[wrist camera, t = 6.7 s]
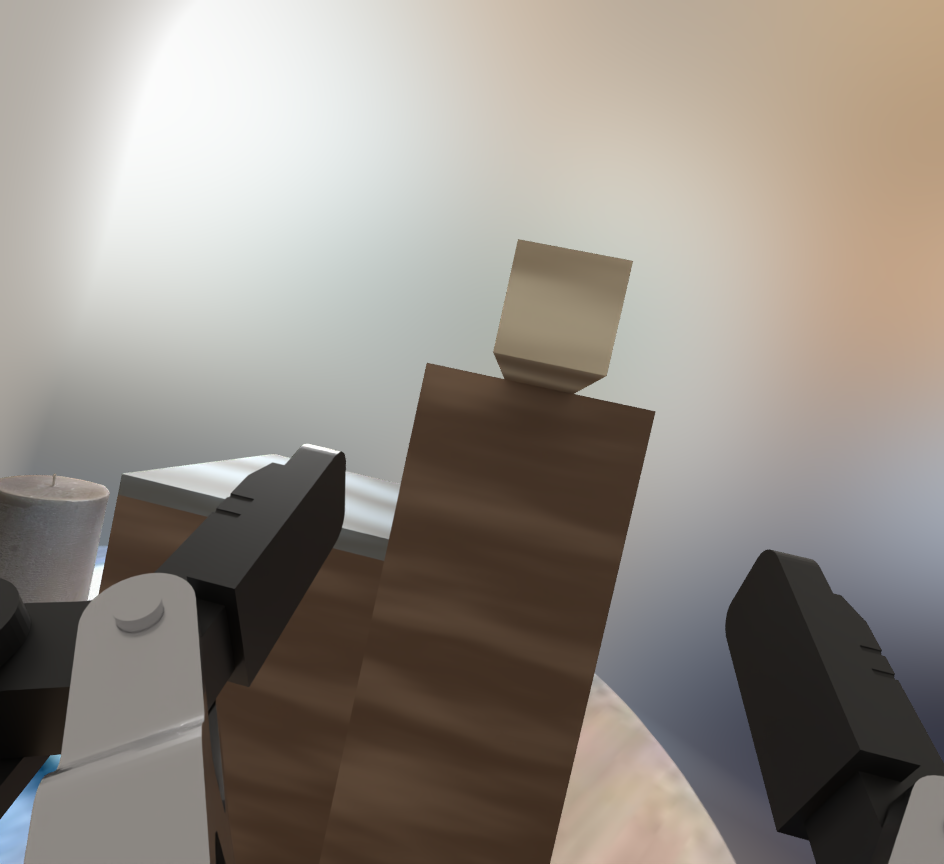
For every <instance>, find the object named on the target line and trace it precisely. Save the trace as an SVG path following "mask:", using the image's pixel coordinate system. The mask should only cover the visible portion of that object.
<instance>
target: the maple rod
mask: <svg viewBox="0 0 944 864" xmlns="http://www.w3.org/2000/svg"><path fill="white" fill-rule="evenodd" d="M632 263H633V261H630V260H625V259H620V258H614V257H609V256H604V255H598V254H593V253H588V252H583V251H578V250H572V249H567V248H562V247H556V246H551V245H546V244H540V243H535V242H529V241H525V240H519V239H518V242H517V247H516V251H515V256H514V261H513V265H512V270H511V274H510V279H509V284H508V287H507V292H506V297H505V301H504V306H503V310H502V315H501V319H500V324H499V329H498V333H497V338H496V343H495V347H494V351H493V353H494V355H495V357H496V360H497V362H498V365H499V367H500V369H501V372H502V374H503V376H504V379H505V380H510V381H515V382H519V383H524V384H529V385H533V386H538V387H543V388H547V389H552V390H557V391H562V392H566V393H571V394H574V393H576V392H578V391H580V390H582V389H583V388H585V387H587V386H589V385H591V384H593V383H594V382H596V381H598V380H600V379H602V378H604V377H605V376H607V372H608V368H609V363H610V359H611V355H612V350H613V346H614V342H615V337H616V333H617V329H618V324H619V320H620V315H621V311H622V307H623V302H624V298H625V294H626V289H627V285H628V281H629V276H630V272H631V267H632Z"/></svg>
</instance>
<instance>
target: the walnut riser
mask: <svg viewBox="0 0 944 864" xmlns="http://www.w3.org/2000/svg"><path fill="white" fill-rule="evenodd" d="M654 415H655V411H650V410H646V409H641V408H637V407H632V406H627V405H622V404H618V403H613V402H608V401H604V400H599V399H594V398H590V397H585V396H580V395H576V394H571V393H566V392H562V391H557V390H552V389H547V388H543V387H538V386H533V385H529V384H524V383H519V382H515V381H510V380H505V379H501V378H496V377H491V376H486V375H482V374H477V373H472V372H468V371H463V370H458V369H454V368H449V367H444V366H440V365H435V364H430V363H427V364H426V369H425V374H424V378H423V383H422V388H421V392H420V397H419V402H418V406H417V411H416V415H415V420H414V425H413V429H412V434H411V439H410V443H409V448H408V453H407V457H406V462H405V467H404V472H403V476H402V481H401V484H398V483H394V482H390V481H386V480H381V479H377V478H373V477H369V476H364V475H360V474H356V473H351V472H347V471H346V480H345V516H344V522H343V526H342V529H341V532H340V535H339V537H338V539H337V541H336V543H335V545H334V547H333V548H332V550H331V552H330V553H329V555H328V557H327V558H326V560H325V562H324V563H323V565H322V567H321V568H320V570H319V572H318V573H317V575H316V577H315V578H314V580H313V582H312V583H311V585H310V587H309V588H308V590H307V592H306V593H305V595H304V597H303V598H302V600H301V602H300V603H299V605H298V607H297V608H296V610H295V612H294V613H293V615H292V617H291V618H290V620H289V622H288V623H287V625H286V627H285V628H284V630H283V632H282V633H281V635H280V637H279V638H278V640H277V642H276V643H275V645H274V647H273V648H272V650H271V652H270V653H269V655H268V657H267V658H266V660H265V662H264V663H263V665H262V667H261V668H260V670H259V672H258V673H257V675H256V677H255V678H254V680H253V682H252V683H251V685H250V687H246V686H243V685H239V684H235V683H232V682H228V681H227V682H226V684H225V685H224V687H223V689H222V690H221V692H220V693H219V695H218V696H217V703H218V710H219V720H220V730H221V741H222V751H223V761H224V772H225V782H226V792H227V803H228V813H229V822H230V830H231V838H232V844H233V851H234V857H235V864H550V861H551V856H552V852H553V848H554V844H555V839H556V835H557V831H558V826H559V822H560V818H561V814H562V809H563V805H564V801H565V796H566V792H567V788H568V784H569V779H570V775H571V771H572V767H573V762H574V758H575V754H576V749H577V745H578V741H579V737H580V732H581V728H582V724H583V719H584V715H585V711H586V707H587V702H588V698H589V694H590V689H591V685H592V681H593V677H594V672H595V668H596V664H597V659H598V655H599V651H600V647H601V642H602V638H603V633H604V629H605V625H606V621H607V616H608V612H609V608H610V604H611V599H612V595H613V591H614V586H615V582H616V578H617V574H618V570H619V565H620V561H621V557H622V552H623V548H624V544H625V540H626V535H627V531H628V527H629V522H630V518H631V514H632V510H633V505H634V501H635V497H636V492H637V488H638V484H639V480H640V475H641V471H642V467H643V463H644V458H645V454H646V450H647V445H648V441H649V437H650V433H651V428H652V424H653V420H654ZM289 459H290V458H288V457H284V456H279V455H275V454H270V455H263V456H255V457H247V458H239V459H231V460H223V461H216V462H208V463H200V464H193V465H185V466H178V467H170V468H162V469H155V470H147V471H140V472H131V473H124V474H122V476H121V482H120V487H119V492H118V497H117V503H116V507H115V513H114V518H113V523H112V528H111V533H110V538H109V544H108V549H107V554H106V559H105V564H104V569H103V575H102V580H101V585H100V590H99V594H100V593H102V592H103V591H104V590H106V589H107V588H109V587H111V586H112V585H114V584H116V583H118V582H120V581H122V580H125V579H128V578H130V577H134V576H138V575H142V574H148V573H154V572H155V571H156V570H157V569H158V568H159V567H160V566H161V565H162V564H163V563H164V562H165V561H166V560H167V559H168V558H169V557H170V556H171V555H172V554H173V553H174V552H175V551H176V550H177V549H178V548H179V546H180V545H181V544H182V543H183V542H184V541H185V540H186V539H187V538H188V537H189V536H190V535H191V534H192V533H193V532H194V531H195V530H196V529H197V528H198V527H199V526H200V525H201V524H202V523H203V521H204V520H205V519H206V518H207V517H208V516H209V515H210V514H211V513H212V512H214V513H215V511H216V508H217V507H218V506H219V505H220V504H221V503H222V502H223V501H224V500H225V499H226V498H227V497H230V495H231V492H232V491H233V490H234V489H235V488H236V487H237V486H238V485H239V484H240V483H241V482H242V481H243V480H244V479H245V478H246V477H247V476H248V475H249V474H251V473H253V472H255V471H257V470H259V469H261V468H263V467H265V466H267V465H269V464H270V463H272V462H273V463H278V464H282V465H285V464H286V463H287V462H288V461H289Z"/></svg>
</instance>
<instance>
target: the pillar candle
mask: <svg viewBox="0 0 944 864" xmlns="http://www.w3.org/2000/svg"><path fill="white" fill-rule="evenodd" d="M109 495H110V493H109V490H107V489H106V487H105V486H103V485H100V484H96V483H92V482H88V481H85V480H80V479H75V478H67V477H61V476H56V474H53V476H47V475H24V476H12V477H5V478H1V479H0V578H1V579H5V580H7V581H9V582H11V583H12V584H13V585H14V586H15V587H16V588H17V590H18V592H19V595H20V597H21V599H22V601H23V603H42V602H76V601H87V599H88V595H89V590H90V585H91V580H92V576H93V571H94V566H95V561H96V555H97V550H98V545H99V540H100V535H101V530H102V525H103V520H104V515H105V510H106V505H107V502H108V498H109Z"/></svg>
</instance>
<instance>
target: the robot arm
mask: <svg viewBox="0 0 944 864" xmlns="http://www.w3.org/2000/svg"><path fill="white" fill-rule="evenodd" d="M345 480H346V459H345V454H344V453H343V452H341V451H337V450H333V449H328V448H324V447H319V446H315V445H311V444H304V445H302V446H301V447H300V448H299V449H298V450H297V452H296V453H295V454H294V455H293V456H292V457H291V458H290V459H289V461H288V462H287V463H286V464H285V465H282V464H278V463H273V462H272V463H270V464H269V465H267V466H265V467H263V468H261V469H259V470H257V471H255V472H253V473H251V474H249V475H248V476H247V477H246V478H245V479H244V480H243V481H242V482H241V483H240V484H239V485H238V486H237V487H236V488H235V489H234V490H233V491H232V492H231V495H230V497H227V498H226V499H225V500H224V501H223V502H222V503H221V504H220V505H219V506H218V507H217V508H216V511H215V513H214V512H212V513H211V514H210V515H209V516H208V517H207V518H206V519H205V520H204V521H203V523H202V524H201V525H200V526H199V527H198V528H197V529H196V530H195V531H194V532H193V533H192V534H191V535H190V536H189V537H188V538H187V539H186V540H185V541H184V542H183V543H182V544H181V545H180V546H179V548H178V549H177V550H176V551H175V552H174V553H173V554H172V555H171V556H170V557H169V558H168V559H167V560H166V561H165V562H164V563H163V564H162V565H161V566H160V567H159V568H158V569H157V570H156V571H155V572H154V573H148V574H142V575H138V576H134V577H130V578H128V579H125V580H122V581H120V582H118V583H116V584H114V585H112V586H111V587H109V588H107V589H106V590H104V591H103V592H102V593H100V594H99V595H98V596H97V597H95V598H94V599H93V600H91V601H76V602H42V603H23V601H22V599H21V597H20V595H19V592H18V590H17V588H16V587H15V586H14V585H13V584H12V583H11V582H9V581H7V580H5V579H1V578H0V819H1V818H2V816H3V815H4V814H5V813H6V811H7V810H8V809H9V807H10V806H11V805H12V804H13V802H14V801H15V800H16V798H17V797H18V796H19V795H20V793H21V792H22V791H23V790H24V788H25V787H26V786H27V784H28V783H29V782H30V781H31V779H32V778H33V777H34V775H35V774H36V773H37V772H38V770H39V769H40V768H41V767H42V765H43V764H44V763H45V761H46V760H47V759H48V758H49V756H50V755H58V754H61V758H60V762H59V765H58V768H57V770H56V771H54V772H51V773H48V774H47V775H45V776H44V778H43V779H42V780H41V782H40V784H39V787H38V790H37V792H36V796H35V800H34V804H33V809H32V815H31V821H30V827H29V834H28V840H27V846H26V852H25V859H24V864H235V857H234V851H233V844H232V838H231V830H230V822H229V813H228V803H227V792H226V782H225V772H224V761H223V751H222V741H221V730H220V720H219V710H218V703H217V696H218V695H219V693H220V692H221V690H222V689H223V687H224V685H225V684H226V682H227V681H228V682H232V683H235V684H239V685H243V686H246V687H250V685H251V683H252V682H253V680H254V678H255V677H256V675H257V673H258V672H259V670H260V668H261V667H262V665H263V663H264V662H265V660H266V658H267V657H268V655H269V653H270V652H271V650H272V648H273V647H274V645H275V643H276V642H277V640H278V638H279V637H280V635H281V633H282V632H283V630H284V628H285V627H286V625H287V623H288V622H289V620H290V618H291V617H292V615H293V613H294V612H295V610H296V608H297V607H298V605H299V603H300V602H301V600H302V598H303V597H304V595H305V593H306V592H307V590H308V588H309V587H310V585H311V583H312V582H313V580H314V578H315V577H316V575H317V573H318V572H319V570H320V568H321V567H322V565H323V563H324V562H325V560H326V558H327V557H328V555H329V553H330V552H331V550H332V548H333V547H334V545H335V543H336V541H337V539H338V537H339V535H340V532H341V529H342V526H343V522H344V516H345ZM725 627H726V628H725V630H726V638H727V642H728V646H729V650H730V654H731V657H732V661H733V665H734V669H735V673H736V677H737V681H738V684H739V688H740V692H741V696H742V700H743V704H744V707H745V711H746V715H747V719H748V723H749V726H750V730H751V734H752V738H753V742H754V746H755V749H756V753H757V757H758V761H759V765H760V769H761V772H762V776H763V780H764V784H765V788H766V791H767V795H768V799H769V803H770V807H771V810H772V814H773V818H774V822H775V826H776V830H777V832H781V833H784V834H787V835H791V836H794V837H798V838H802V839H805V840H809V841H810V845H811V848H812V851H813V855H814V857H815V861H816V864H944V763H943V761H942V759H941V757H940V756H939V754H938V752H937V750H936V748H935V747H934V745H933V743H932V741H931V739H930V737H929V736H928V734H927V732H926V730H925V728H924V726H923V725H922V723H921V721H920V719H919V718H918V716H917V714H916V712H915V710H914V708H913V706H912V705H911V703H910V701H909V699H908V697H907V695H906V694H905V692H904V690H903V689H902V686H901V684H900V683H899V681H898V680H895V679H894V675H895V673H894V672H893V670H892V668H891V666H890V664H889V663H888V661H887V659H886V657H885V656H882V655H881V651H882V650H881V648H880V646H879V644H878V643H877V641H876V639H875V637H874V635H873V633H872V632H871V630H870V628H869V626H868V625H867V622H866V621H865V620H864V619H863V618H862V617H861V616H860V615H859V614H858V613H857V612H856V611H855V610H854V609H853V608H852V606H851V605H850V604H849V603H848V602H847V601H846V600H845V599H844V598H843V597H842V596H841V595H837V594H833V592H832V590H831V588H830V586H829V584H828V582H827V580H826V578H825V577H824V575H823V573H822V571H821V569H820V567H819V565H818V564H817V563H816V562H815V561H814V560H812V559H808V558H804V557H799V556H795V555H790V554H786V553H782V552H778V551H774V550H765V551H764V552H762V553H761V554H760V556H759V557H758V558H757V560H756V562H755V564H754V565H753V567H752V569H751V570H750V572H749V574H748V575H747V577H746V579H745V580H744V582H743V584H742V586H741V587H740V589H739V590H738V592H737V594H736V595H735V597H734V599H733V600H732V602H731V604H730V606H729V609H728V612H727V617H726V625H725Z"/></svg>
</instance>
